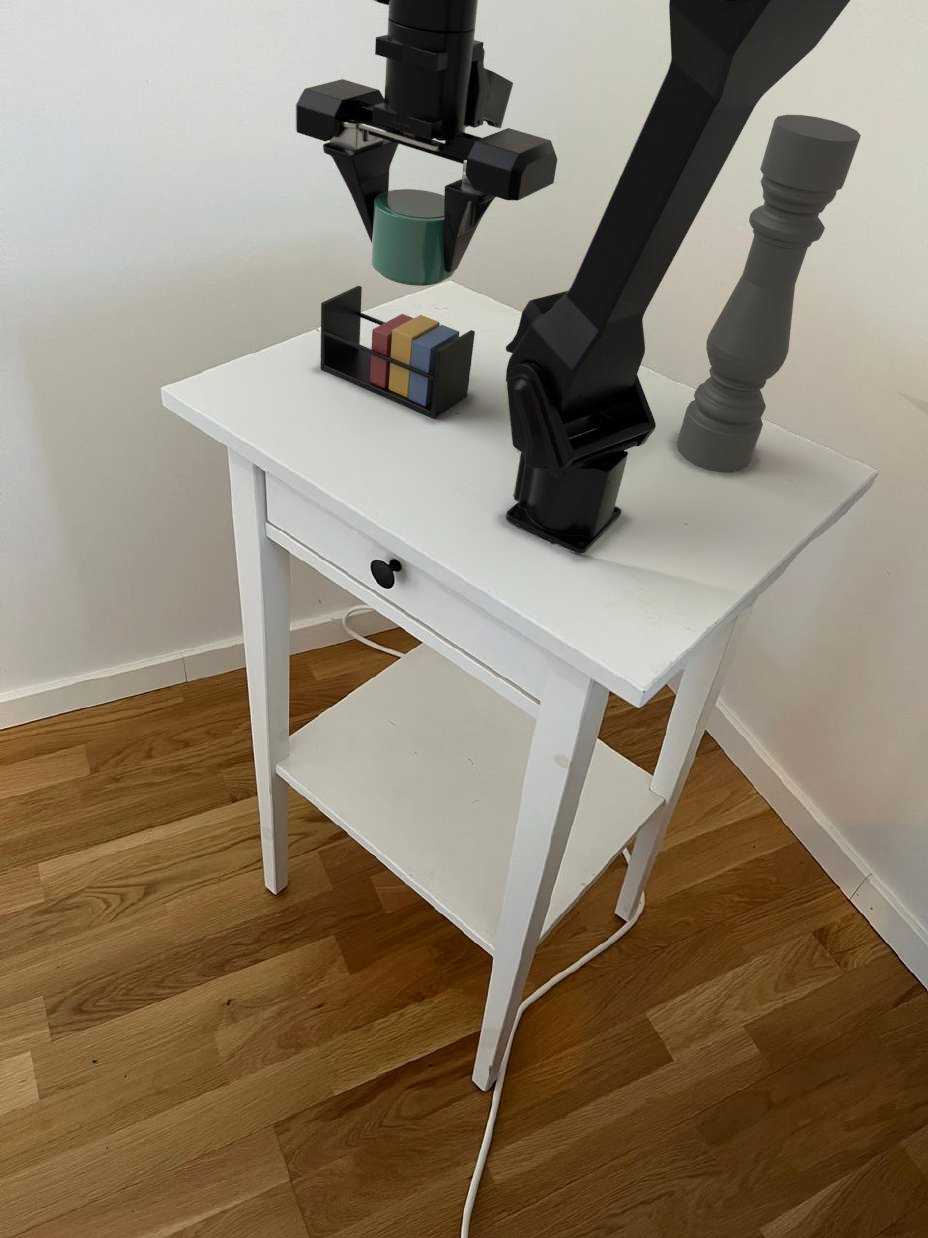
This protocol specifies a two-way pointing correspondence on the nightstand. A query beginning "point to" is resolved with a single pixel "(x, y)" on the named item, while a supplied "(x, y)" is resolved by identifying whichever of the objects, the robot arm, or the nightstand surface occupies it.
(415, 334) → the books
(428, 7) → the robot arm
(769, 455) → the nightstand surface
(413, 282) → the green glass jar
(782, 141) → the candle holder
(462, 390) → the rack
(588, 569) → the nightstand surface
